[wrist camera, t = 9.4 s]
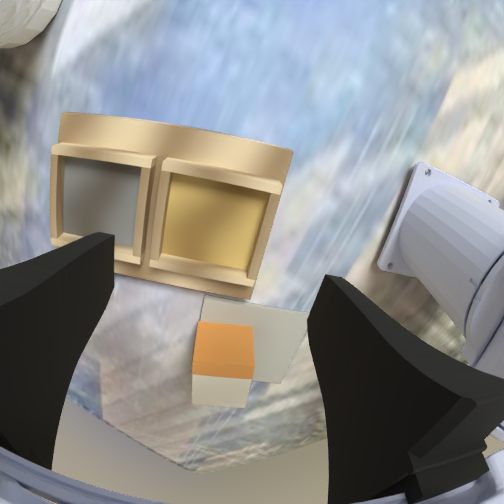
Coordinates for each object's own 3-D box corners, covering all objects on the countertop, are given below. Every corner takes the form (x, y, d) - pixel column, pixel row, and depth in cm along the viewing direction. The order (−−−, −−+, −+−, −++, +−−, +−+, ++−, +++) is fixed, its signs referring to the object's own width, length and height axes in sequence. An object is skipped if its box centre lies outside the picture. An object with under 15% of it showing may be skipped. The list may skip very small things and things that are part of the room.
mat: (311, 313, 23) (312, 316, 22) (280, 380, 26) (280, 383, 26) (204, 294, 22) (204, 298, 21) (191, 368, 25) (190, 371, 25)
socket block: (290, 149, 17) (297, 155, 15) (249, 291, 22) (251, 310, 20) (69, 112, 15) (51, 115, 13) (63, 252, 20) (49, 266, 18)
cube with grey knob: (255, 366, 19) (244, 409, 21) (252, 326, 23) (243, 371, 25) (192, 360, 19) (191, 405, 21) (198, 321, 22) (195, 367, 25)
